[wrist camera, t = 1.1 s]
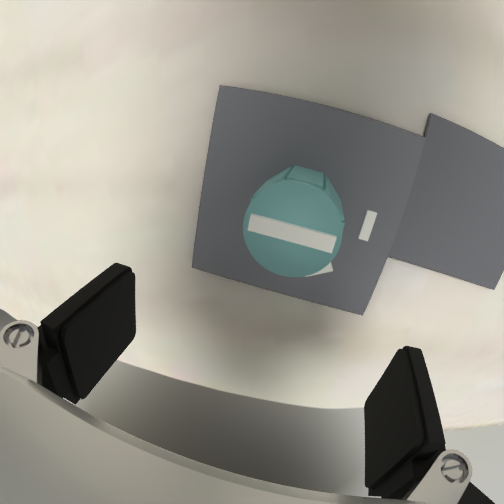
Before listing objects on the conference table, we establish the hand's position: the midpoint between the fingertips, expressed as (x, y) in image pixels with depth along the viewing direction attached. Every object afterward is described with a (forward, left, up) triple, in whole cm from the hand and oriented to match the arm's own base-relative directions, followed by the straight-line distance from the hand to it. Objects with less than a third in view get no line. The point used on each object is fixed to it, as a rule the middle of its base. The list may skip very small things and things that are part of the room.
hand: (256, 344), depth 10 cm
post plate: (0, 0, -16) cm, 16 cm away
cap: (0, 0, -16) cm, 16 cm away
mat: (-4, +14, -16) cm, 22 cm away
